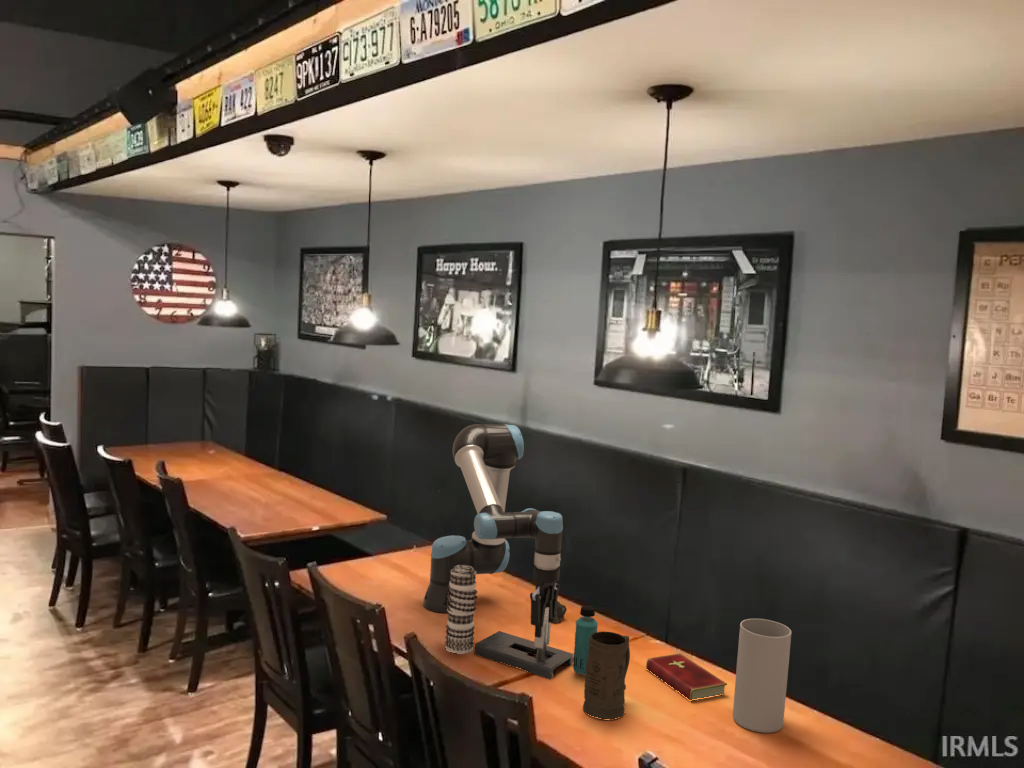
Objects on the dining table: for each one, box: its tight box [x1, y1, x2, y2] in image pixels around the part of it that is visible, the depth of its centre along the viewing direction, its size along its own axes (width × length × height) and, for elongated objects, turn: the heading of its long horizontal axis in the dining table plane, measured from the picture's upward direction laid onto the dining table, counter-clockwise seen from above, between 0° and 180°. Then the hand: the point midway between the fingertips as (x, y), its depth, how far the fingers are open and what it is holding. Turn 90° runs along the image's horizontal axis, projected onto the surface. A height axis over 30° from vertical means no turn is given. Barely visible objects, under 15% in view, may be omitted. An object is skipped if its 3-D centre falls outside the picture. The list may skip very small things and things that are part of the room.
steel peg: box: [533, 606, 549, 661], centre depth 237 cm, size 5×5×17 cm
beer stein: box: [582, 631, 631, 719], centre depth 213 cm, size 15×11×20 cm
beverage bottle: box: [572, 604, 599, 676], centre depth 231 cm, size 6×7×20 cm
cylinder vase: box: [732, 618, 792, 734], centre depth 210 cm, size 12×12×25 cm
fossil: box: [552, 600, 568, 625], centre depth 274 cm, size 11×9×10 cm
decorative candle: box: [444, 565, 479, 655], centre depth 245 cm, size 9×9×25 cm
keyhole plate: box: [473, 630, 574, 680], centre depth 241 cm, size 26×13×3 cm, turn 57°
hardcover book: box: [645, 653, 728, 700], centre depth 231 cm, size 12×21×4 cm, turn 25°
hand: (541, 645), depth 237 cm, fingers closed on steel peg, 3 cm apart
